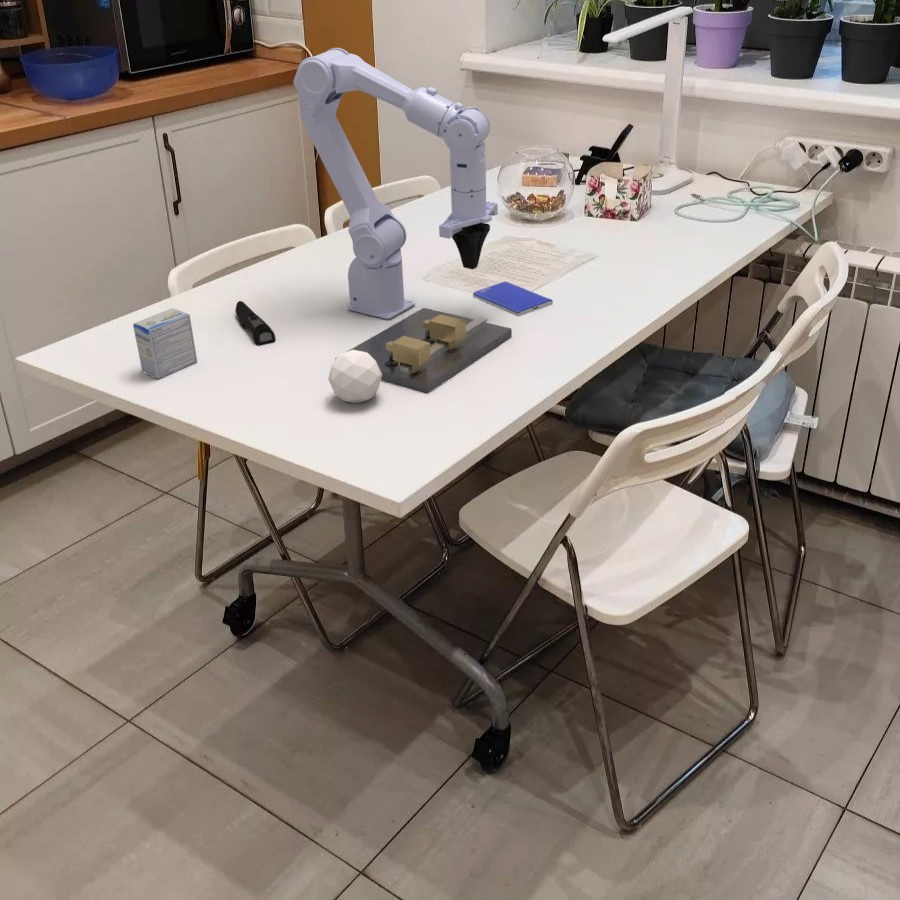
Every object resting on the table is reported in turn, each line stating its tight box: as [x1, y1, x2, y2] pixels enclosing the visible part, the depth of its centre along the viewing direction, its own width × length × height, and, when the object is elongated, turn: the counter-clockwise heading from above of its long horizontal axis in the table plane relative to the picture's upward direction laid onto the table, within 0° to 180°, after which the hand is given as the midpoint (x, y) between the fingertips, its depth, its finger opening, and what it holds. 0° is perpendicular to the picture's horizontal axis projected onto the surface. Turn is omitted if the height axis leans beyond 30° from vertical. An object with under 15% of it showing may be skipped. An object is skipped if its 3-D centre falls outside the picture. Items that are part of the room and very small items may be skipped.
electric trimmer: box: [234, 300, 276, 347], centre depth 180 cm, size 4×15×3 cm, turn 26°
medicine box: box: [132, 308, 198, 380], centre depth 165 cm, size 8×4×9 cm, turn 141°
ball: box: [327, 350, 382, 404], centre depth 154 cm, size 8×8×8 cm
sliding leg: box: [423, 314, 466, 350], centre depth 166 cm, size 7×3×4 cm, turn 55°
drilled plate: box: [334, 307, 513, 394], centre depth 168 cm, size 18×24×6 cm
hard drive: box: [472, 281, 554, 317], centre depth 187 cm, size 2×8×12 cm
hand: (470, 267), depth 176 cm, fingers closed
